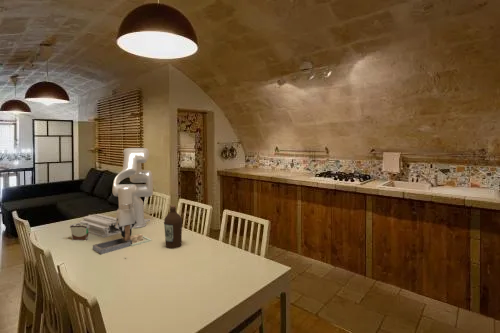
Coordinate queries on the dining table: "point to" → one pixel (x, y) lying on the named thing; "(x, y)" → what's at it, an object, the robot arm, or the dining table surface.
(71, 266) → the dining table surface
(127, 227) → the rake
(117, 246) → the channel
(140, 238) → the block
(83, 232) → the food container
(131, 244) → the tray
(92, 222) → the aluminum extrusion profile
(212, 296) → the dining table surface
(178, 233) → the olive oil
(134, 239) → the block
